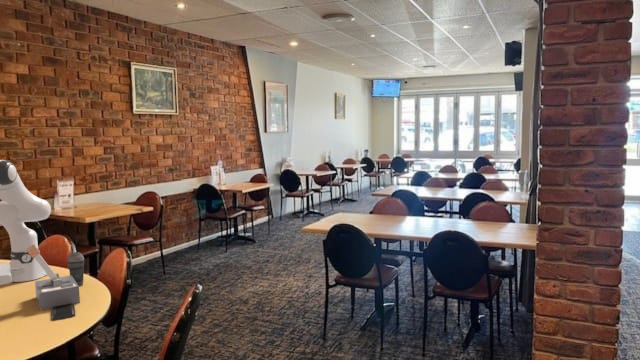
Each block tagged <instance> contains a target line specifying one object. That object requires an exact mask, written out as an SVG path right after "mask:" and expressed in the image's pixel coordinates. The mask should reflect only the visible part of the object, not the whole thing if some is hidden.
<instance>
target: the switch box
mask: <svg viewBox="0 0 640 360" xmlns="http://www.w3.org/2000/svg"><path fill="white" fill-rule="evenodd" d="M55 275H56V276H57V277H58V279H56V280H53V281H52V280H51V278H48V279H43V280H42V279H41V280H38V281H37V280H36V281H35V280H34V281H35V282H34V283H35V284H34V285H35V286H34V287H35V295H36V296H35V297H36V300H37V303H38V307H39V309H40V311H46V310H52V307H54V306H60V305H66V304H72V303H73V304H74V305H75V304H80V303H81V297H80V286H78V284H77V283H76V281H75V280H74V278H73V277H72V275H70V274H69V275H66V276H65V275H64V276H61V277H60V273H56V272H55Z"/></svg>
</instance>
